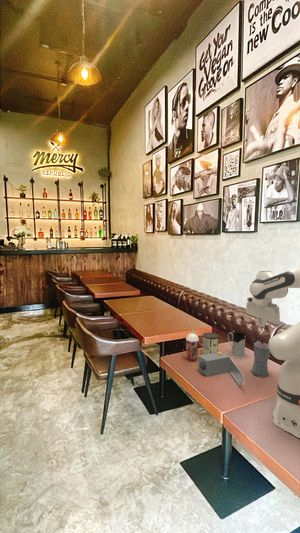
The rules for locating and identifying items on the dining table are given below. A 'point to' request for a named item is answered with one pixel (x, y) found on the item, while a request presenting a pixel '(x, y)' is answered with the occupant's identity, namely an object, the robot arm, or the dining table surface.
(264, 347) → the moka pot
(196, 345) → the smoothie
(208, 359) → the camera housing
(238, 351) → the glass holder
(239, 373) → the side door
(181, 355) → the dining table surface
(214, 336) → the coffee can
